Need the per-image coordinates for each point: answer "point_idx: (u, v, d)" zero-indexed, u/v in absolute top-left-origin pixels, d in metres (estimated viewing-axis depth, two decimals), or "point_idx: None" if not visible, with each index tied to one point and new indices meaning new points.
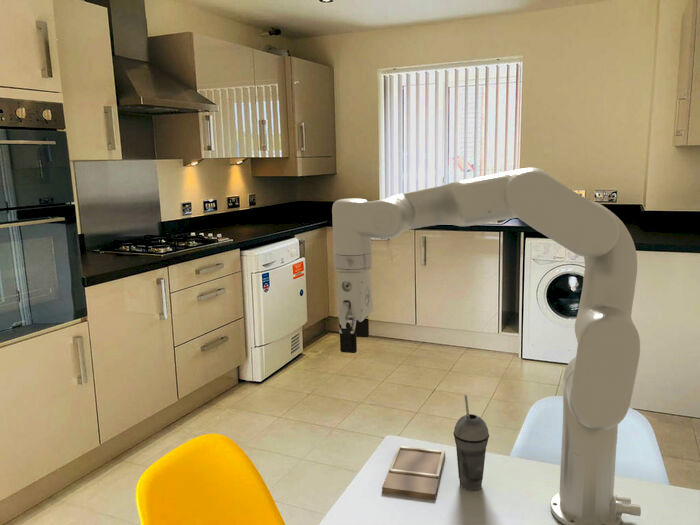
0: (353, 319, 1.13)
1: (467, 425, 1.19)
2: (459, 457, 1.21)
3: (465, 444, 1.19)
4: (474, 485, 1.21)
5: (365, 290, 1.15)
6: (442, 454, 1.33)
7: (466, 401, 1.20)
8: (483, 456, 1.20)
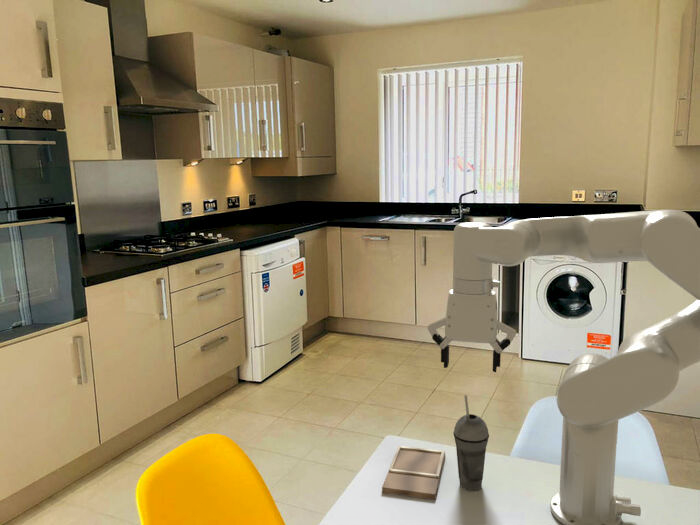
0: None
1: (467, 425, 1.19)
2: (459, 457, 1.21)
3: (465, 444, 1.19)
4: (474, 485, 1.21)
5: None
6: (442, 454, 1.33)
7: (466, 401, 1.20)
8: (483, 456, 1.20)
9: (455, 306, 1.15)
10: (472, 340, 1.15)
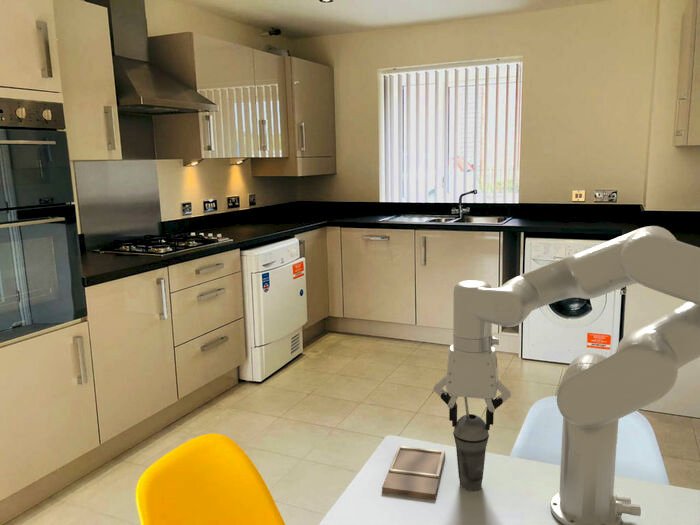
0: None
1: (467, 425, 1.19)
2: (459, 457, 1.21)
3: (465, 444, 1.19)
4: (474, 485, 1.21)
5: None
6: (442, 454, 1.33)
7: (466, 401, 1.20)
8: (483, 455, 1.20)
9: (456, 363, 1.17)
10: (473, 396, 1.18)
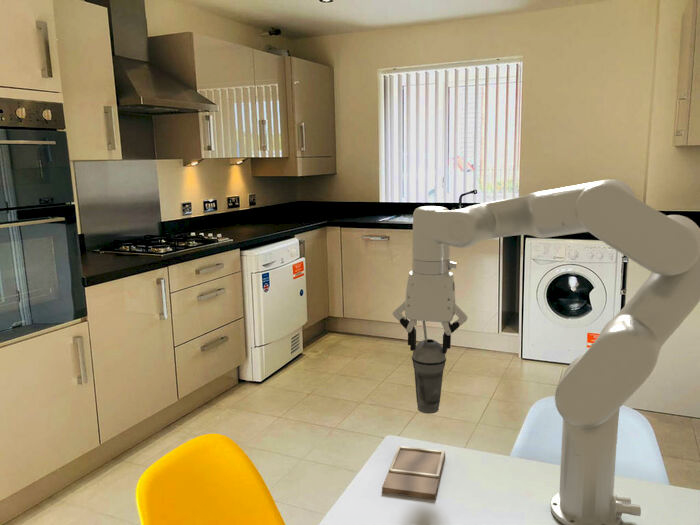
0: None
1: (424, 348, 1.22)
2: (417, 380, 1.24)
3: (422, 366, 1.22)
4: (431, 408, 1.24)
5: None
6: (442, 454, 1.33)
7: (424, 325, 1.23)
8: (439, 379, 1.23)
9: (414, 287, 1.20)
10: (430, 319, 1.20)
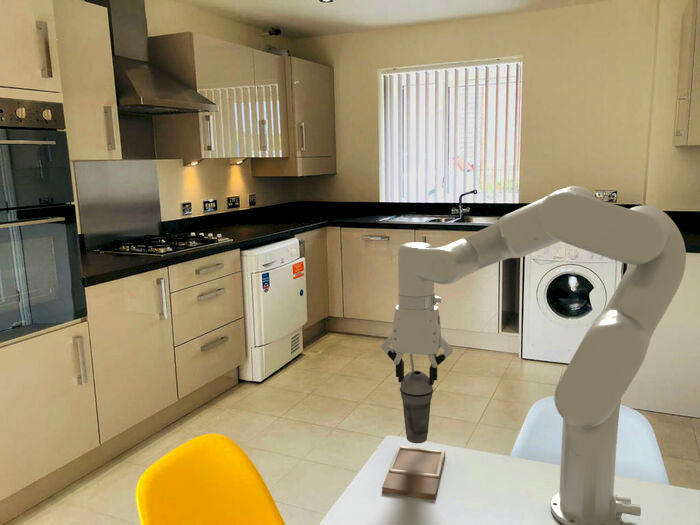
0: None
1: (411, 380, 1.25)
2: (405, 411, 1.27)
3: (409, 398, 1.25)
4: (419, 438, 1.27)
5: None
6: (442, 454, 1.33)
7: (411, 358, 1.26)
8: (427, 410, 1.26)
9: (400, 321, 1.23)
10: (416, 352, 1.24)
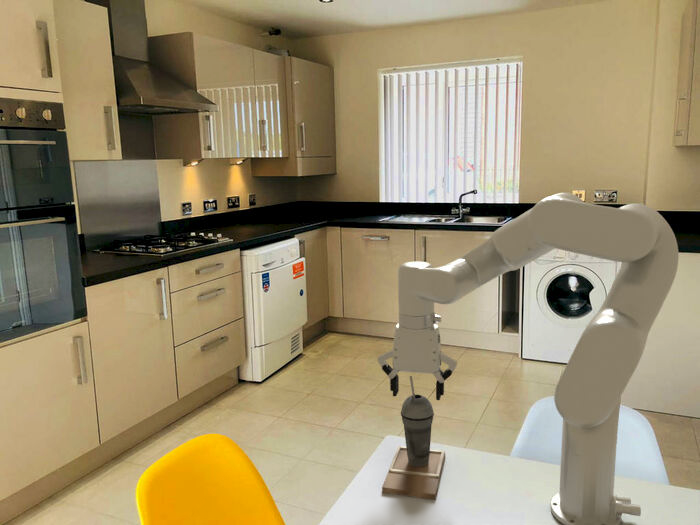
0: (438, 366, 1.26)
1: (412, 404, 1.26)
2: (406, 435, 1.28)
3: (410, 422, 1.26)
4: (421, 461, 1.28)
5: None
6: (442, 454, 1.33)
7: (411, 382, 1.28)
8: (428, 433, 1.28)
9: (401, 340, 1.24)
10: (417, 370, 1.25)
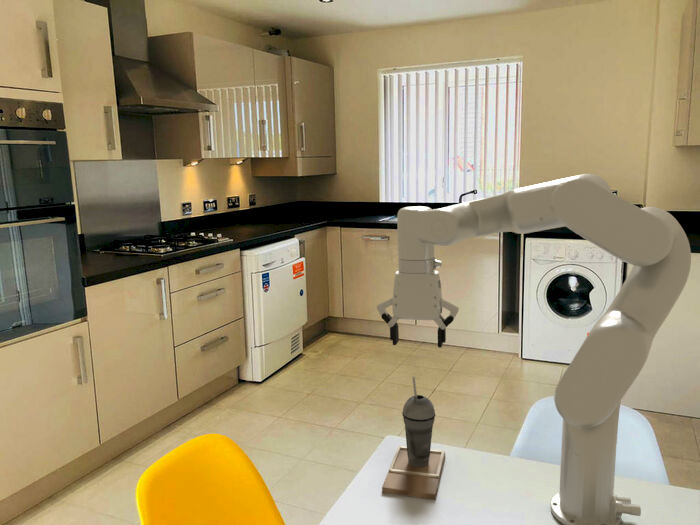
0: (439, 313, 1.24)
1: (414, 405, 1.26)
2: (407, 435, 1.28)
3: (412, 422, 1.26)
4: (421, 462, 1.28)
5: None
6: (442, 454, 1.33)
7: (414, 382, 1.27)
8: (429, 434, 1.27)
9: (401, 286, 1.22)
10: (417, 317, 1.22)
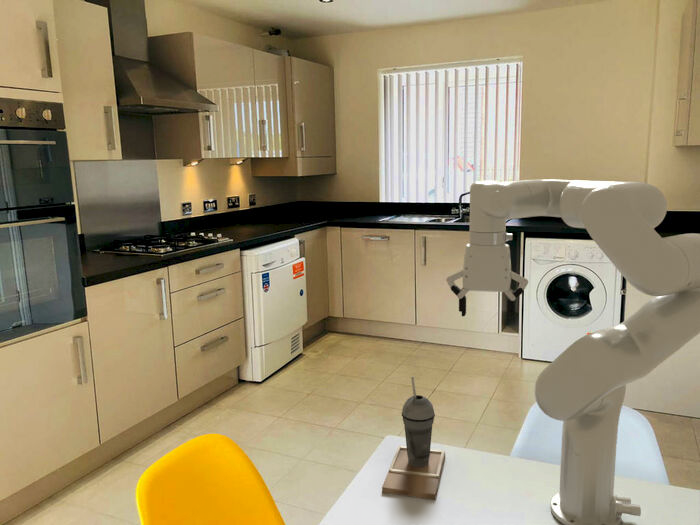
0: None
1: (413, 405, 1.26)
2: (407, 435, 1.28)
3: (411, 423, 1.26)
4: (421, 462, 1.28)
5: None
6: (442, 454, 1.33)
7: (413, 382, 1.27)
8: (429, 434, 1.27)
9: (472, 258, 1.25)
10: (488, 289, 1.26)
